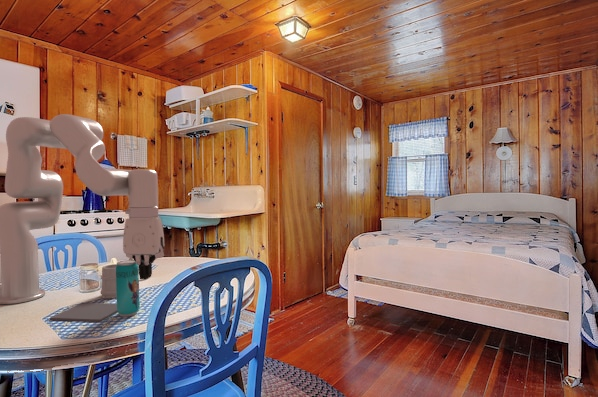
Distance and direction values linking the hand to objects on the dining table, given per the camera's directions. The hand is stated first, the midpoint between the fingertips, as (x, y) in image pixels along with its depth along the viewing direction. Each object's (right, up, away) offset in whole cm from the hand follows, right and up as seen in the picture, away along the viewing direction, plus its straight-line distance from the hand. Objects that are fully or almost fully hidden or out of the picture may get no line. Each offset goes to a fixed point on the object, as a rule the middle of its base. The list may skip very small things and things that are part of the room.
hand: (145, 277), depth 95 cm
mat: (-17, -11, +2) cm, 20 cm away
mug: (-17, -10, +19) cm, 28 cm away
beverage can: (-5, -11, +1) cm, 12 cm away
